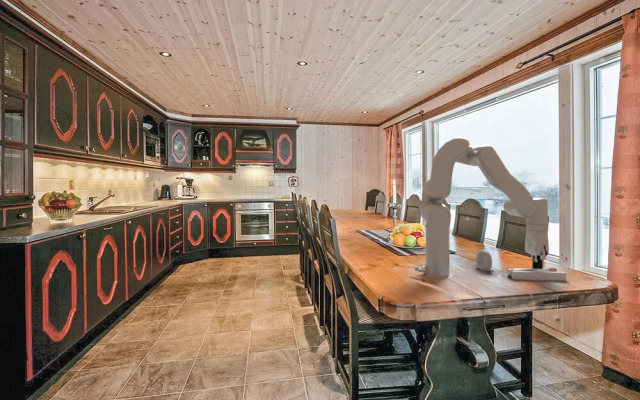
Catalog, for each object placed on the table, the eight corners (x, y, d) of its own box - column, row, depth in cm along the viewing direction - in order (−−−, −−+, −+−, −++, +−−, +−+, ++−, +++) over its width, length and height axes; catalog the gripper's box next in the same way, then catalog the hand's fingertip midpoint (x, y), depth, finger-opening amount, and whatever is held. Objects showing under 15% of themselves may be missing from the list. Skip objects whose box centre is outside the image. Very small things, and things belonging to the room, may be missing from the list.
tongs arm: (509, 277, 128) (509, 269, 128) (506, 276, 130) (506, 268, 130) (556, 276, 129) (556, 268, 129) (552, 274, 131) (553, 267, 131)
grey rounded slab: (493, 274, 137) (493, 252, 137) (485, 275, 137) (485, 252, 137) (482, 268, 147) (482, 247, 147) (474, 269, 147) (474, 247, 147)
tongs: (511, 283, 124) (511, 273, 124) (499, 275, 136) (499, 265, 136) (570, 285, 121) (570, 274, 121) (552, 276, 133) (553, 266, 133)
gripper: (518, 225, 140) (519, 266, 140) (536, 230, 125) (537, 276, 125) (537, 225, 138) (537, 266, 139) (557, 229, 124) (558, 276, 124)
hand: (537, 271), depth 132 cm, fingers closed
